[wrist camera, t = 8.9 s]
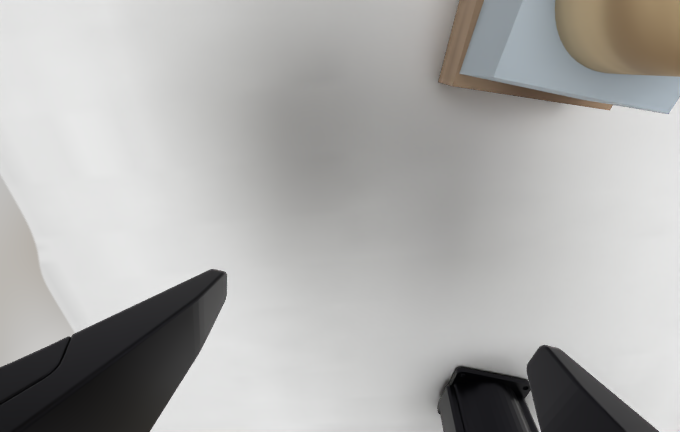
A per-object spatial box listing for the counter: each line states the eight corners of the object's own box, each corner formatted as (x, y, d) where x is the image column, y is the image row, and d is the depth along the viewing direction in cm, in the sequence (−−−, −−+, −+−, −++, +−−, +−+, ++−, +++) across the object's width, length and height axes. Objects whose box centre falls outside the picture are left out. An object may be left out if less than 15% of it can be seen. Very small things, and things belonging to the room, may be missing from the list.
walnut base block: (633, -61, 14) (723, -106, 10) (561, 100, 17) (609, 110, 13) (479, -81, 14) (513, -131, 10) (437, 81, 17) (452, 86, 14)
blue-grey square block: (665, -61, 11) (835, -136, 7) (581, 99, 13) (668, 114, 9) (514, -92, 11) (593, -183, 7) (459, 73, 13) (493, 77, 9)
